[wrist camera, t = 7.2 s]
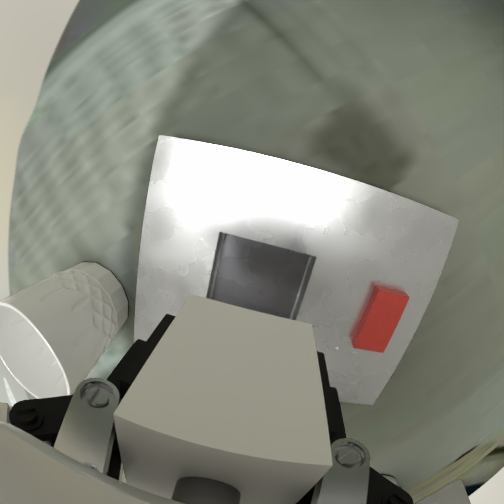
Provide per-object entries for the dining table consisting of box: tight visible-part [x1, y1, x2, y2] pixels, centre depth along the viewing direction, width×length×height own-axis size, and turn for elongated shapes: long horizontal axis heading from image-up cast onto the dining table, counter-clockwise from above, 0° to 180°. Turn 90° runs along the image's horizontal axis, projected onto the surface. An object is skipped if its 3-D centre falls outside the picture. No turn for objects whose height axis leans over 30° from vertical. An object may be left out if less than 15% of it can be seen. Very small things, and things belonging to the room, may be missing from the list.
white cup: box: [0, 262, 128, 399], centre depth 18 cm, size 8×8×10 cm
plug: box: [113, 294, 333, 504], centre depth 8 cm, size 4×4×7 cm
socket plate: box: [134, 135, 459, 405], centre depth 19 cm, size 20×16×3 cm
